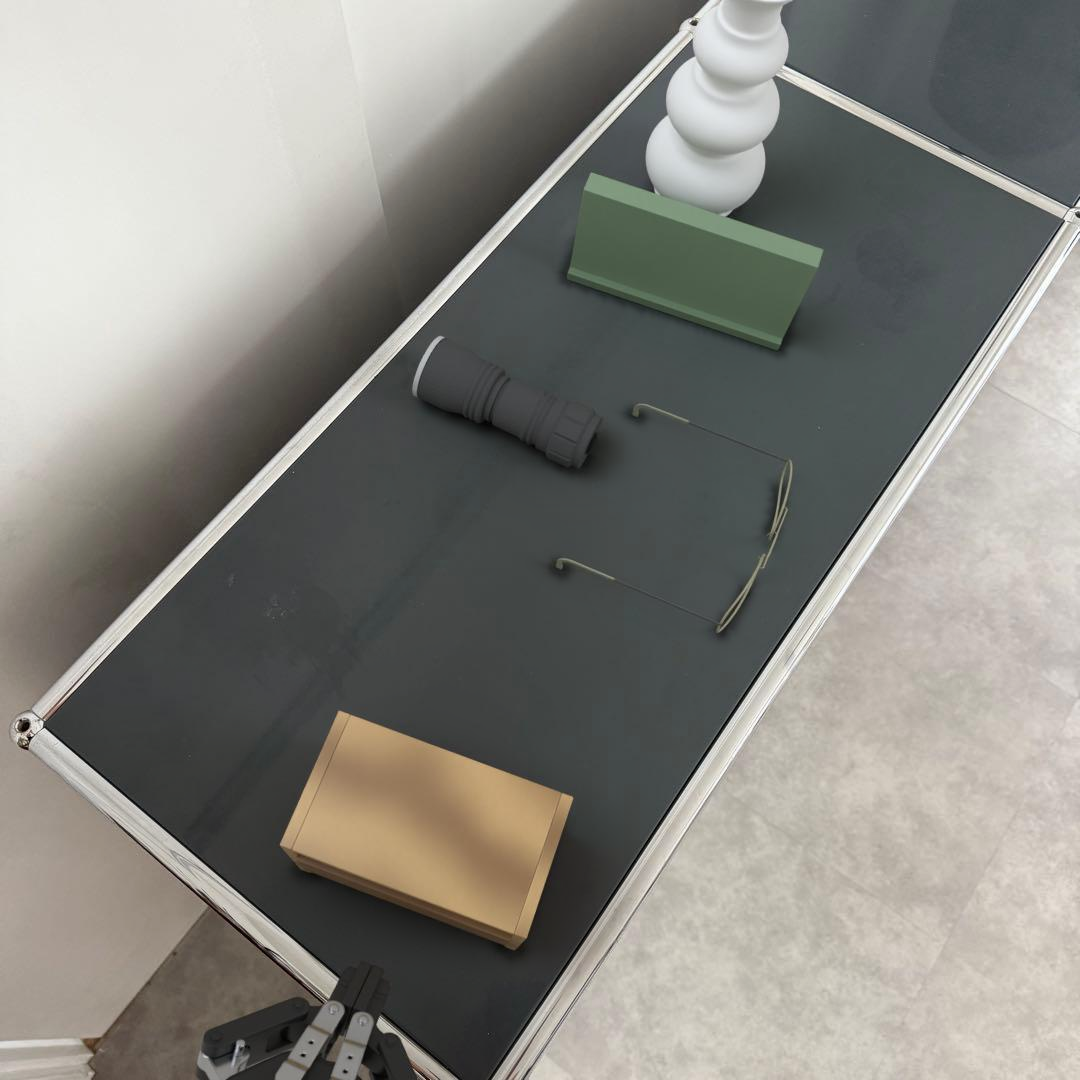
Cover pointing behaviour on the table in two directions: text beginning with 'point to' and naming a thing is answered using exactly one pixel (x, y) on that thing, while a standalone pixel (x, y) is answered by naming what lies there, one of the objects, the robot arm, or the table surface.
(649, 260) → the wall board
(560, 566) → the eyeglasses
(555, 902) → the table surface
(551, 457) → the flashlight
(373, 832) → the wooden drawer chest
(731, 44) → the vase
